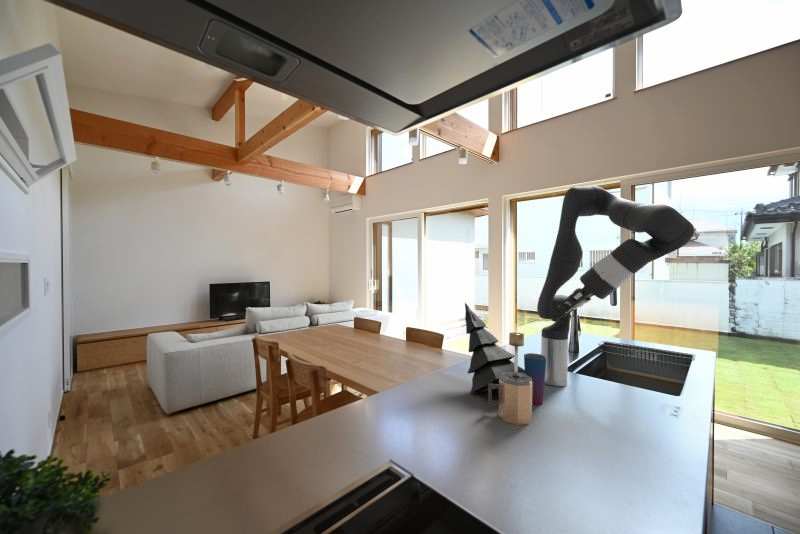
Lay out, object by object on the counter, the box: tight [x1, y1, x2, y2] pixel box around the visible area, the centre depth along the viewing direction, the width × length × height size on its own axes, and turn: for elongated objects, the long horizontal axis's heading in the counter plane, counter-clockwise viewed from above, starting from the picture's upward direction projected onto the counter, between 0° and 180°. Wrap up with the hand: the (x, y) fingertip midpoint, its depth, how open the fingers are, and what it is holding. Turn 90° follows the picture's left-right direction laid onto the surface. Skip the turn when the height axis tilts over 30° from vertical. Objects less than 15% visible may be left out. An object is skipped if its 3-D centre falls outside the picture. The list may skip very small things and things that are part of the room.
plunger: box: [508, 331, 525, 378], centre depth 98 cm, size 4×4×18 cm
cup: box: [523, 352, 546, 406], centre depth 110 cm, size 7×7×15 cm
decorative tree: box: [464, 302, 525, 398], centre depth 121 cm, size 15×15×35 cm
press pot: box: [487, 372, 533, 426], centre depth 98 cm, size 9×11×12 cm
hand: (555, 316), depth 91 cm, fingers open, 8 cm apart
